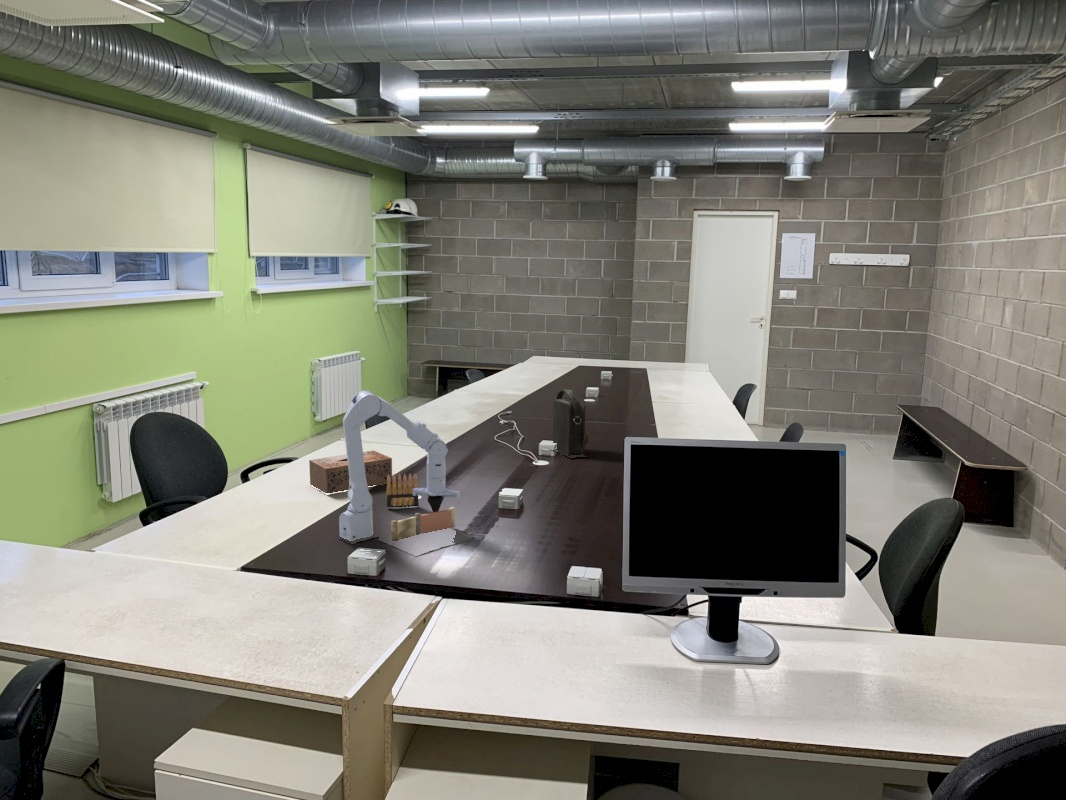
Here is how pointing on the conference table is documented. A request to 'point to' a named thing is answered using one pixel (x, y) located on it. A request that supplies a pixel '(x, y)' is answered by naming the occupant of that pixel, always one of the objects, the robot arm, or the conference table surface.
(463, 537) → the card
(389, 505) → the ammunition clip
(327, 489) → the tissue box cover
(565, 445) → the shoulder bag
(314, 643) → the conference table surface
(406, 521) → the fence base
